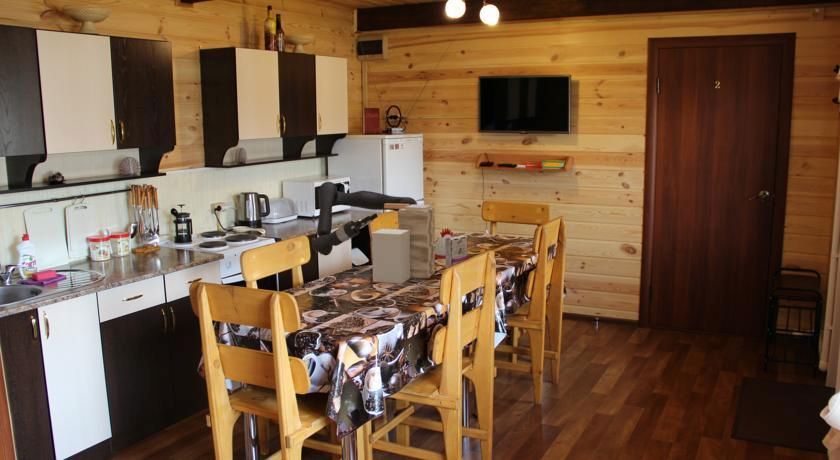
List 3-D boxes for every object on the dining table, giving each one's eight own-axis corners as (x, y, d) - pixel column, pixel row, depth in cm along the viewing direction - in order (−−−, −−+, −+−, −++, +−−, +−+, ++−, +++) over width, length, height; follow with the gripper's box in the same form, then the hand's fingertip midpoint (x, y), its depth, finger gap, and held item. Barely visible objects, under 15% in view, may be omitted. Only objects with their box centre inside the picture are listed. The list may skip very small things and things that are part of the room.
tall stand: (407, 271, 366) (406, 206, 360) (434, 273, 361) (434, 207, 356) (399, 276, 356) (398, 210, 350) (427, 278, 351) (426, 211, 345)
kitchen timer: (428, 255, 403) (428, 228, 401) (448, 252, 412) (448, 225, 409) (444, 259, 392) (444, 231, 390) (464, 256, 400) (464, 228, 398)
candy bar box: (461, 267, 374) (461, 235, 371) (468, 269, 370) (468, 236, 367) (445, 270, 367) (444, 237, 364) (451, 272, 363) (451, 239, 360)
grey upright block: (382, 276, 357) (381, 228, 353) (410, 277, 352) (409, 230, 348) (373, 281, 346) (371, 232, 342) (401, 283, 341) (400, 234, 337)
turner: (388, 206, 362) (388, 202, 362) (431, 208, 355) (431, 203, 355) (381, 209, 354) (381, 204, 354) (425, 210, 347) (425, 206, 346)
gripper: (337, 227, 361) (363, 211, 355) (350, 222, 374) (375, 207, 368) (345, 240, 360) (371, 225, 354) (357, 235, 374) (382, 220, 368)
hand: (373, 216), depth 361 cm, fingers open, 8 cm apart
